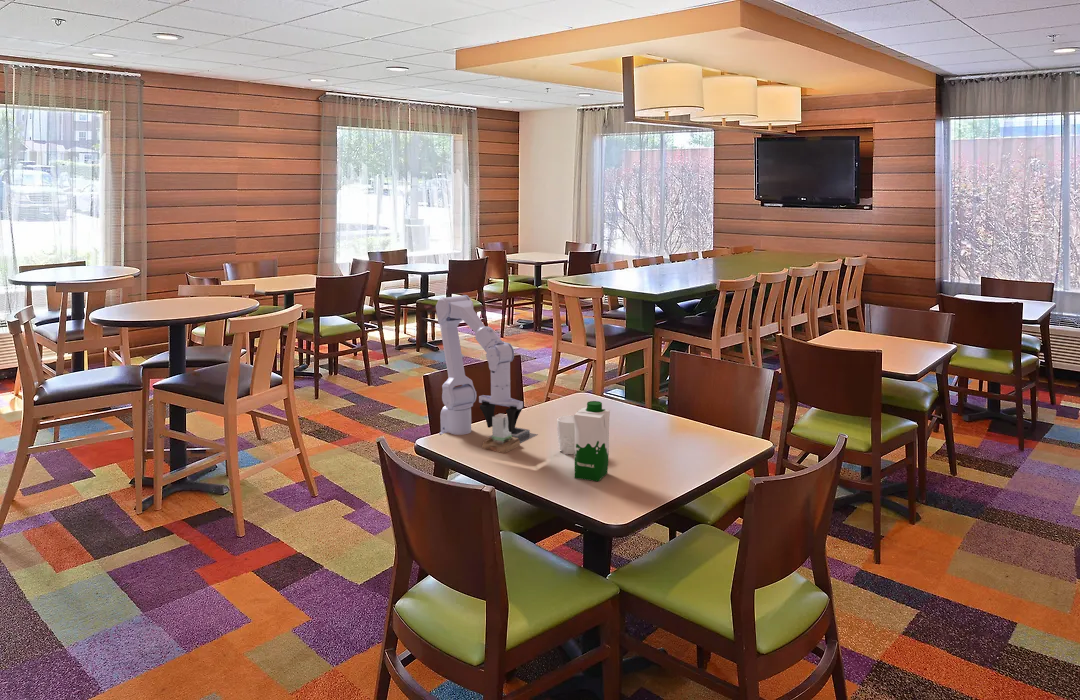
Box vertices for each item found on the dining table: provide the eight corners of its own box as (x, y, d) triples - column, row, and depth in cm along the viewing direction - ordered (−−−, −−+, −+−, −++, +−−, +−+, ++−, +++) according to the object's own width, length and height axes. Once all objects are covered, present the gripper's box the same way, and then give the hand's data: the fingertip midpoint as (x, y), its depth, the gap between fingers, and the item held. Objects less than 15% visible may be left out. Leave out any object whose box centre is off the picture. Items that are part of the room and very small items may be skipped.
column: (492, 442, 234) (491, 416, 233) (500, 438, 238) (499, 413, 236) (503, 444, 232) (503, 418, 231) (511, 440, 236) (511, 415, 234)
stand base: (488, 439, 245) (488, 432, 244) (506, 431, 253) (506, 424, 253) (520, 446, 239) (520, 438, 238) (537, 437, 247) (537, 429, 247)
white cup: (581, 456, 230) (581, 423, 228) (554, 454, 231) (554, 421, 229) (585, 447, 237) (585, 415, 235) (559, 446, 239) (559, 414, 237)
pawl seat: (482, 451, 234) (482, 441, 233) (497, 444, 241) (497, 433, 240) (504, 456, 230) (504, 445, 229) (519, 448, 237) (519, 438, 236)
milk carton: (611, 472, 216) (612, 402, 212) (600, 483, 208) (601, 410, 204) (581, 468, 220) (582, 399, 216) (569, 478, 212) (570, 407, 208)
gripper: (528, 384, 231) (528, 429, 234) (488, 378, 238) (488, 421, 241) (515, 389, 225) (515, 435, 228) (474, 383, 232) (475, 427, 235)
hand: (501, 428), depth 234 cm, fingers open, 7 cm apart
